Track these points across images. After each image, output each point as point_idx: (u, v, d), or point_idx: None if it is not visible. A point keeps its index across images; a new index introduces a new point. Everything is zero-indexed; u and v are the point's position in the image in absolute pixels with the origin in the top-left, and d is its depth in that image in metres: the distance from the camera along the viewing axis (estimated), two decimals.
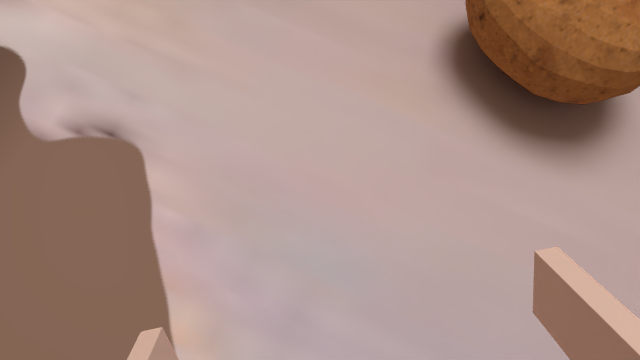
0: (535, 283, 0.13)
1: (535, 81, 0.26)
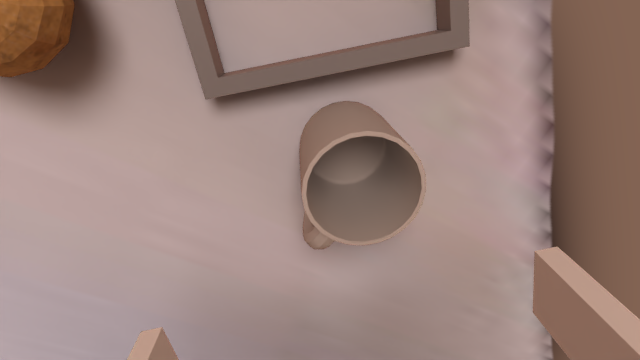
0: (534, 283, 0.13)
1: None
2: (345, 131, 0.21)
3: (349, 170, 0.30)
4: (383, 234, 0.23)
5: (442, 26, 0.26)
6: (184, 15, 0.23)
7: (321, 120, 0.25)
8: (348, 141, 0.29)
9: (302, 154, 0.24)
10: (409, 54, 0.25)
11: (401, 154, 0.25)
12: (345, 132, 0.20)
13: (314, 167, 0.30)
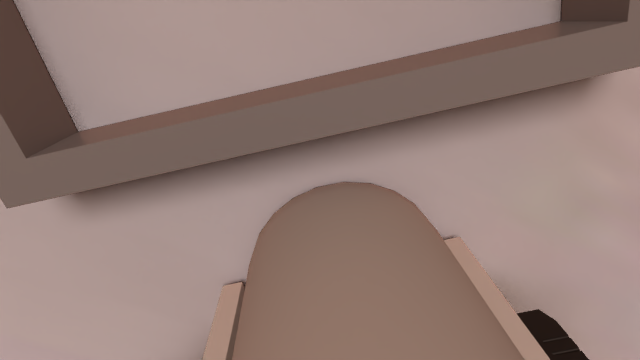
0: None
1: None
2: None
3: None
4: None
5: (584, 12, 0.11)
6: None
7: (282, 256, 0.10)
8: None
9: (233, 356, 0.09)
10: (513, 85, 0.10)
11: None
12: None
13: None
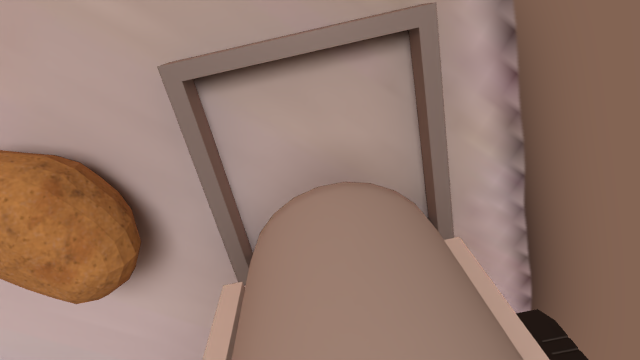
0: None
1: None
2: None
3: None
4: None
5: (431, 220, 0.31)
6: (223, 233, 0.29)
7: (282, 256, 0.10)
8: None
9: (232, 355, 0.09)
10: None
11: None
12: None
13: None
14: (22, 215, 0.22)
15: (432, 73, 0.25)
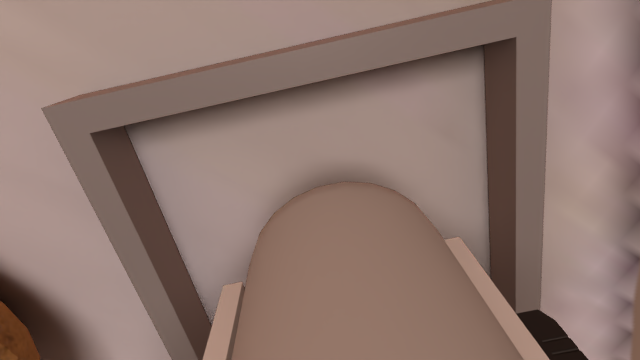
0: None
1: None
2: None
3: None
4: None
5: None
6: None
7: (282, 256, 0.10)
8: None
9: (232, 355, 0.09)
10: None
11: None
12: None
13: None
14: None
15: (531, 116, 0.14)
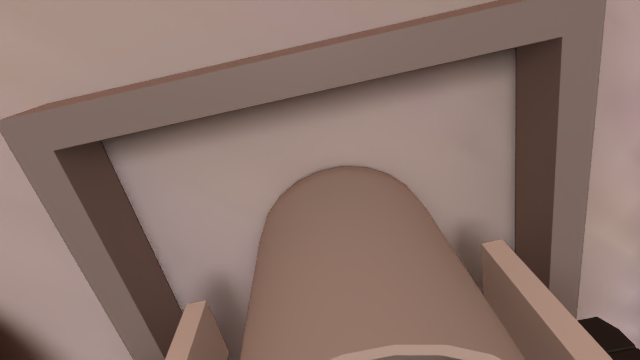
0: (483, 273, 0.14)
1: None
2: (332, 328, 0.07)
3: None
4: None
5: None
6: None
7: (288, 229, 0.12)
8: None
9: (248, 312, 0.11)
10: None
11: None
12: (331, 341, 0.07)
13: None
14: None
15: (575, 130, 0.12)
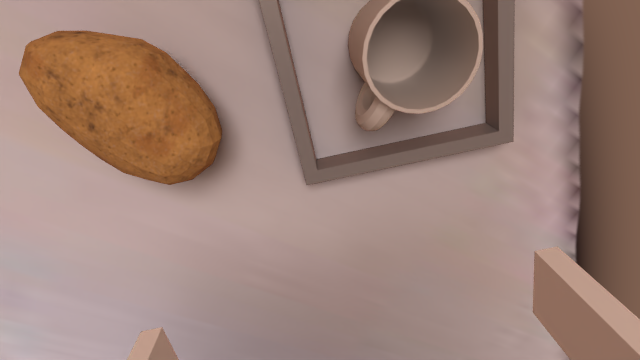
0: (535, 283, 0.13)
1: None
2: None
3: (396, 67, 0.31)
4: (440, 102, 0.24)
5: (490, 123, 0.32)
6: (295, 128, 0.30)
7: (372, 3, 0.26)
8: (394, 36, 0.30)
9: (356, 35, 0.25)
10: (465, 148, 0.32)
11: (452, 32, 0.26)
12: None
13: None
14: (128, 84, 0.24)
15: None
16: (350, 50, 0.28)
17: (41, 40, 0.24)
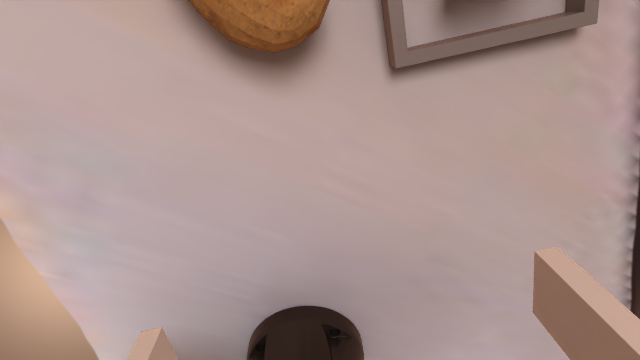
0: (535, 283, 0.13)
1: None
2: None
3: None
4: None
5: (572, 9, 0.34)
6: (391, 5, 0.31)
7: None
8: None
9: None
10: (551, 30, 0.33)
11: None
12: None
13: None
14: None
15: None
16: None
17: None
